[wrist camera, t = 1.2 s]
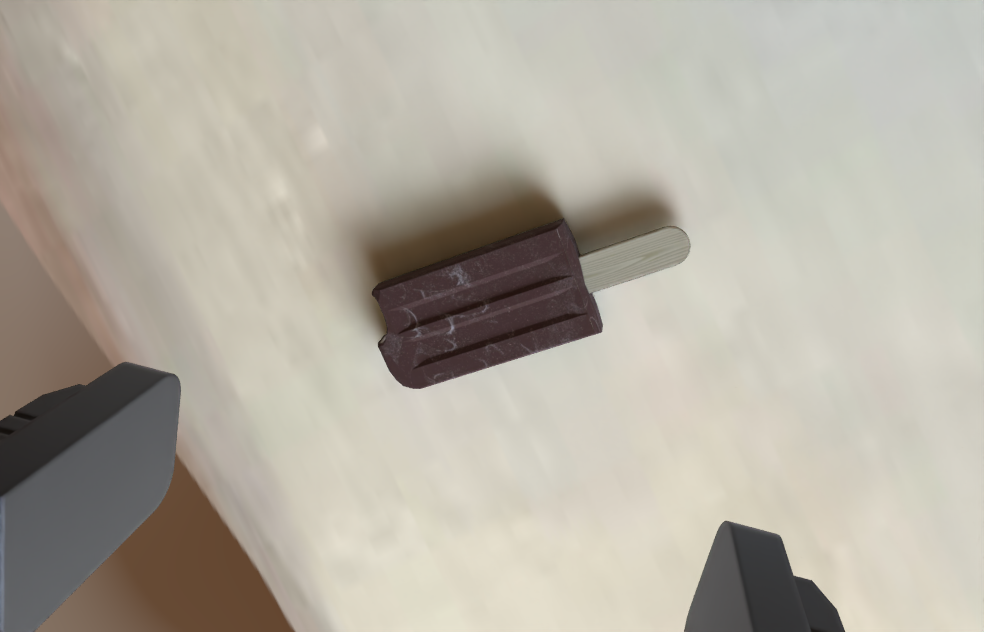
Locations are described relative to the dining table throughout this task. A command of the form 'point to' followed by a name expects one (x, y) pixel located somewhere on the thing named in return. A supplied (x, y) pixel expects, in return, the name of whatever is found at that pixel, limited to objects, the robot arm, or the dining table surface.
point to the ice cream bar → (508, 300)
